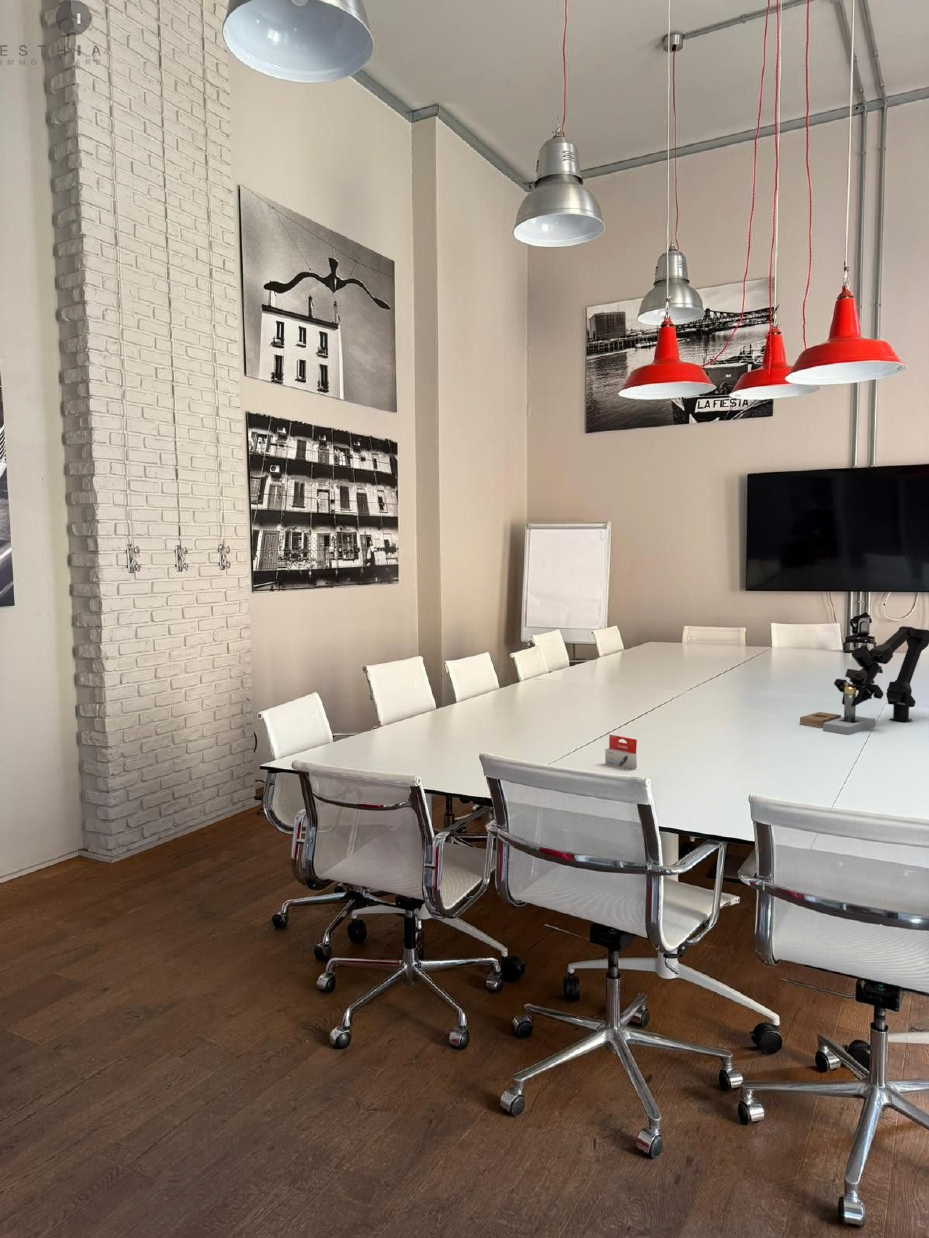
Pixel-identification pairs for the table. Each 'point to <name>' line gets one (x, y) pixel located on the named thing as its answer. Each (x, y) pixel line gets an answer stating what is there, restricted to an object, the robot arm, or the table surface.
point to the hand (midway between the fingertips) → (847, 705)
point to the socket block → (818, 719)
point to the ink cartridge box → (621, 752)
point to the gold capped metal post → (849, 704)
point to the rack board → (848, 725)
